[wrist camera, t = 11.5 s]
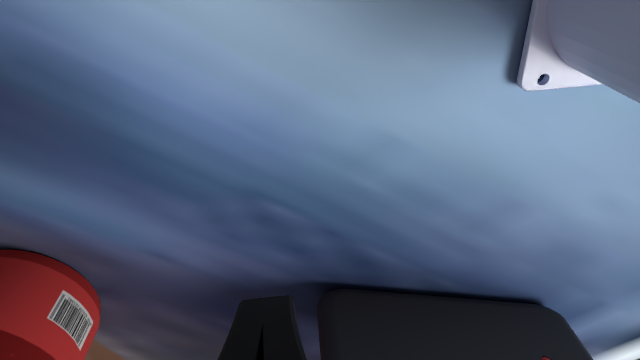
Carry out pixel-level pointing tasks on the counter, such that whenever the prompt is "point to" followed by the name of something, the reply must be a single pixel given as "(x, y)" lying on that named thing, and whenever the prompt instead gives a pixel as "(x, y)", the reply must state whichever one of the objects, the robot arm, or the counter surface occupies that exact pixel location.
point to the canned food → (44, 309)
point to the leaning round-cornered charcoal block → (440, 329)
